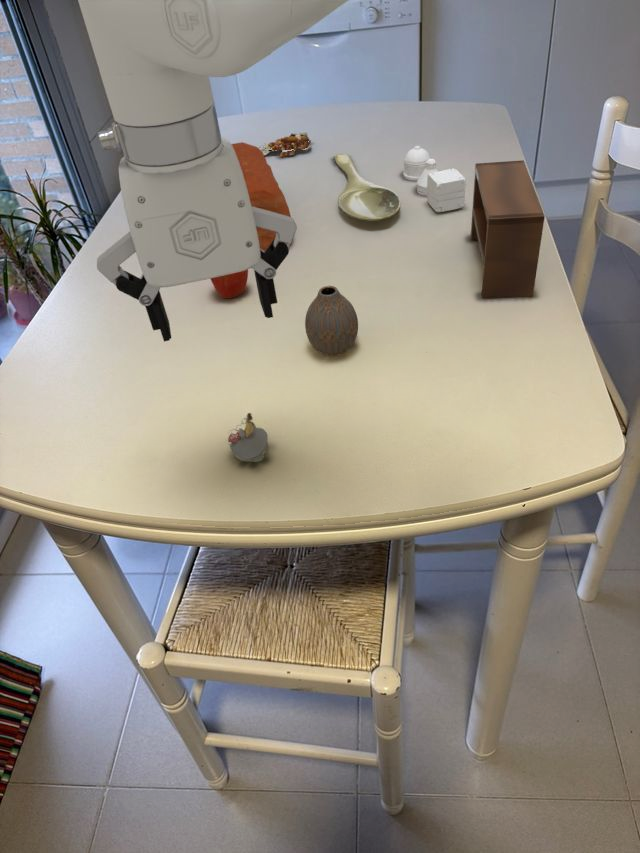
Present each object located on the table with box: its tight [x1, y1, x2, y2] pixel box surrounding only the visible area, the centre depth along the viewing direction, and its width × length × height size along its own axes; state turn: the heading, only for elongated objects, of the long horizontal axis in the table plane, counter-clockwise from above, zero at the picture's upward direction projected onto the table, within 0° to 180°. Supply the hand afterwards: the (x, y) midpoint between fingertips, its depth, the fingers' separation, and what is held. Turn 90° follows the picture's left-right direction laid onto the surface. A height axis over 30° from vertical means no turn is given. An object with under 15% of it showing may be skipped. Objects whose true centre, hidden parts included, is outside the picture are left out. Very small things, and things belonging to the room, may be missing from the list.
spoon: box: [333, 153, 402, 222], centre depth 121 cm, size 35×11×2 cm, turn 10°
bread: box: [231, 141, 292, 251], centre depth 113 cm, size 16×27×11 cm, turn 13°
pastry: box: [258, 131, 313, 159], centre depth 138 cm, size 7×12×4 cm, turn 96°
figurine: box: [227, 412, 269, 463], centre depth 72 cm, size 5×4×6 cm
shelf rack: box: [470, 160, 546, 299], centre depth 94 cm, size 7×18×12 cm, turn 176°
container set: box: [402, 145, 467, 213], centre depth 117 cm, size 20×5×6 cm, turn 13°
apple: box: [210, 269, 249, 299], centre depth 97 cm, size 6×6×8 cm
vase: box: [304, 285, 359, 357], centre depth 84 cm, size 7×7×9 cm
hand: (217, 321), depth 61 cm, fingers open, 9 cm apart
